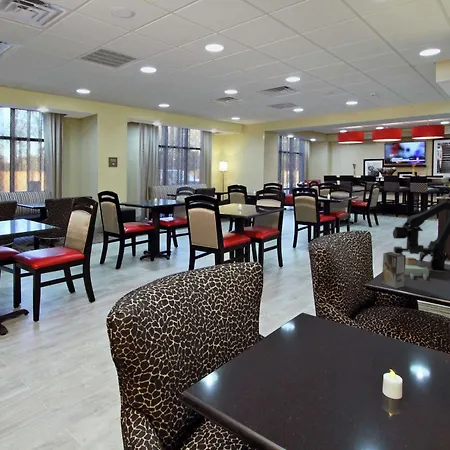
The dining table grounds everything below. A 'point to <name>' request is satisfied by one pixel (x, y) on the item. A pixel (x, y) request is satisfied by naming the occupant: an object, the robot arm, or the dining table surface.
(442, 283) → the dining table surface
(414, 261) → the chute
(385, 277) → the coffee box
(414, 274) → the mower deck
